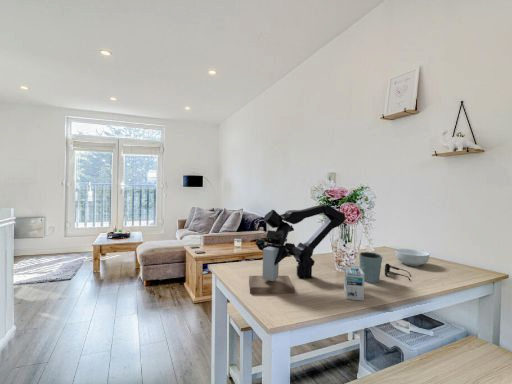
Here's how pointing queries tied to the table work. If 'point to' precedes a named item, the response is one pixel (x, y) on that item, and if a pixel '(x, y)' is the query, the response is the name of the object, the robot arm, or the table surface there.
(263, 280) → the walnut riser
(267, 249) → the slate block
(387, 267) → the sunglasses
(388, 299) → the table surface
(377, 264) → the grey green cup
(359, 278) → the light bulb box
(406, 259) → the cereal bowl
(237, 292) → the table surface
